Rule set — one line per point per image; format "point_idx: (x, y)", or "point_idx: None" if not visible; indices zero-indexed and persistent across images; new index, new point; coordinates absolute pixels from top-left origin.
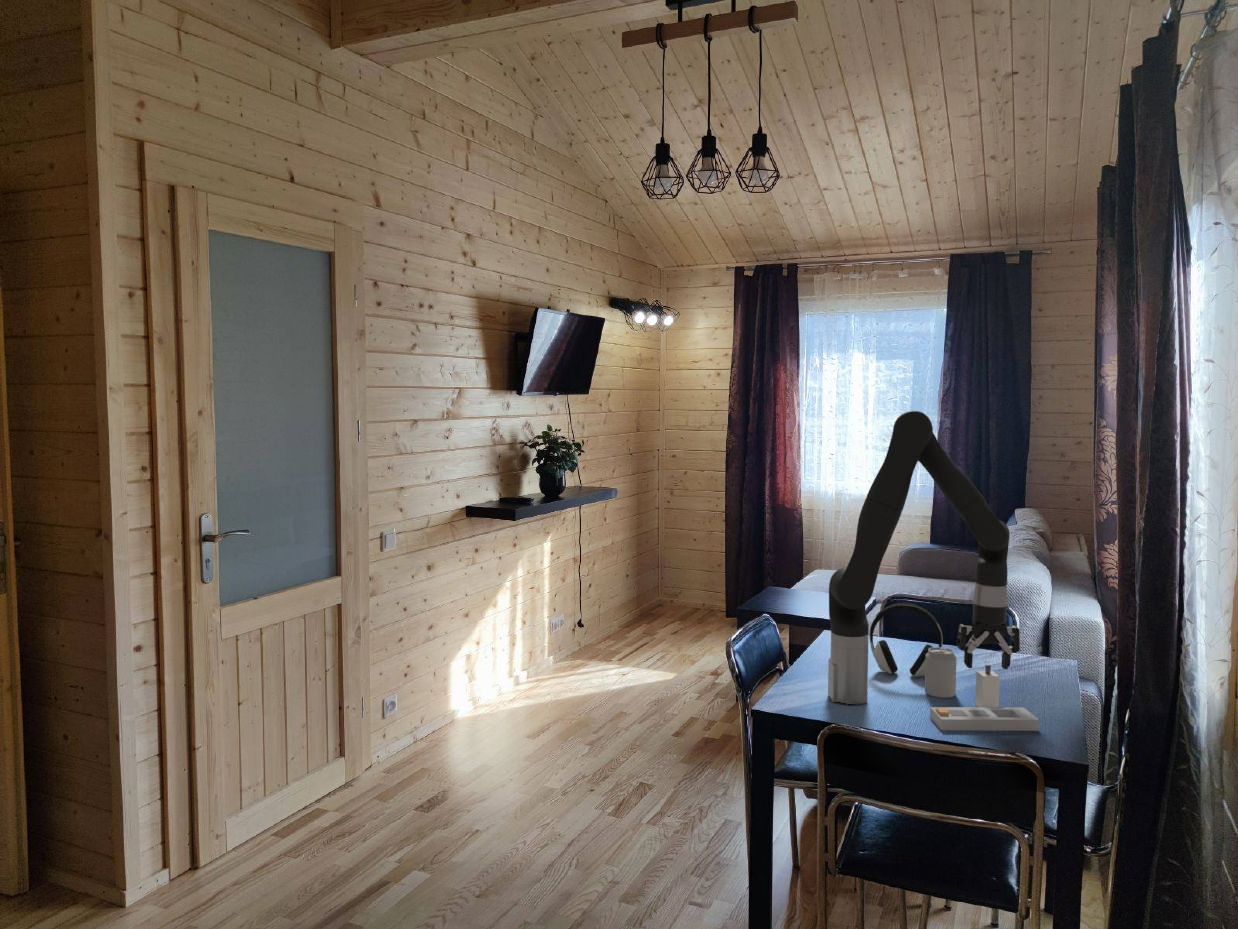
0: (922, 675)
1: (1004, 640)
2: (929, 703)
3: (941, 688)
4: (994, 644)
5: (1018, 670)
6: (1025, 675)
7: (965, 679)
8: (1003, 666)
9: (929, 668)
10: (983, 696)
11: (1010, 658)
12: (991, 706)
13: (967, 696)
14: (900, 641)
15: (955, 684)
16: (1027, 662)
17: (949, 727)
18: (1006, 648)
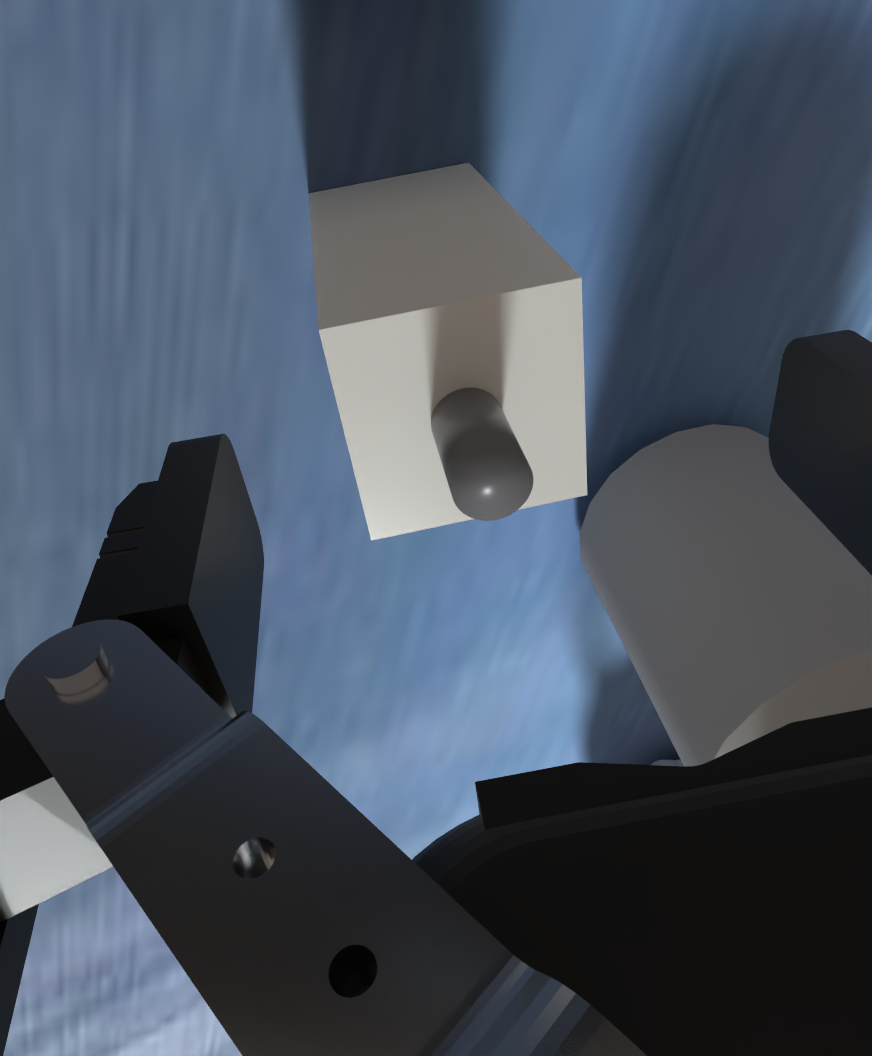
0: (677, 760)
1: (192, 971)
2: (831, 327)
3: (759, 462)
4: (532, 772)
5: (92, 964)
6: (52, 922)
7: (413, 797)
8: (240, 498)
9: None
10: (490, 204)
11: (87, 594)
12: (383, 192)
13: (482, 537)
14: None
15: (626, 545)
16: (44, 1046)
17: None
18: (147, 732)
